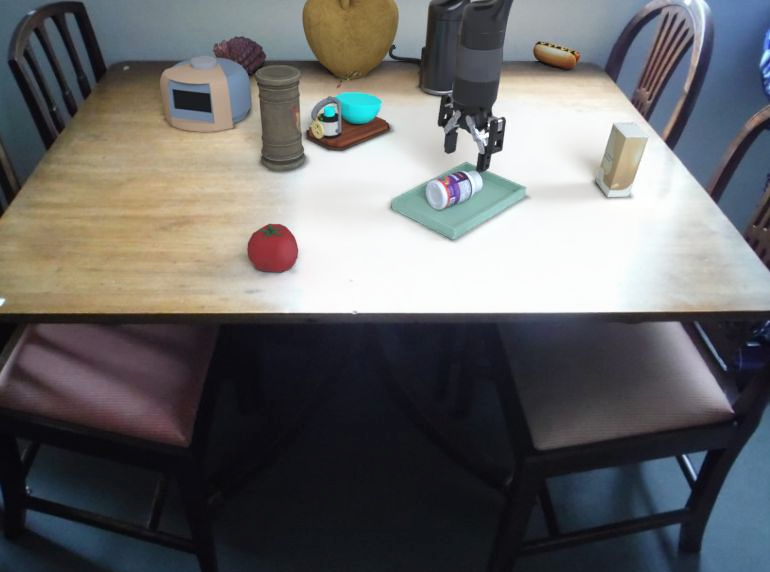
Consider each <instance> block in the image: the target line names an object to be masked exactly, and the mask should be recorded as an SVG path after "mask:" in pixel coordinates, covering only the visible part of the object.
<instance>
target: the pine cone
mask: <svg viewBox="0 0 770 572" xmlns="http://www.w3.org/2000/svg"><path fill="white" fill-rule="evenodd" d="M263 49H264V48H263V46H262V45H260V44H258V42H256V41H255V40H253V39H251V38H249V37H245V36H243V35H242V36H234V37H233V38H230V39H229V40H226V39H222V40H221V42H219V43H214V44H213V49H212V52H213V53H214V57H216V58H224V59H229V60H232V61H234V62H236V63H238V64H240V65H241V66H242V67H243V68H244V69H245V71H246V72H247V73H248V75H252V74H253V73H254V71H258V70H259V68H260V67H261V66H262V64H263V63H265V61H266V59H267V54H266V52H265V51H264V50H263Z"/></svg>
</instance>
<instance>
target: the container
mask: <svg viewBox="0 0 770 572" xmlns="http://www.w3.org/2000/svg"><path fill="white" fill-rule="evenodd" d="M301 76H302V74H301V71H300V70H299V69H298V68H296V67H294V66H292V65H286V64H273V65H267V66H263V67H261V68H258V69H257V70H256V72H255V73H254V79H255V81H256V86H257V88H258V95H257V97H258V99H259V112H260V122H261V123H260V124H261V142H262V147H261V151H260V152H261V156H260V160H261V163H262V165H263V166H264V168H266V169H269V170H271V171H274V172H275V171H276V172H288V171H291V170H292V171H293V170H296V169H297V168H300V167H301V166H302V165H304V163H305V161H306V154H305V147H304V145H303V134H302V126H301V124H302V122H301V105H300V104H301V103H300V102H301V100H300V97H301V93H300V87H299V86H300V84H301V83H300V80H301Z"/></svg>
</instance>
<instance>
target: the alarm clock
mask: <svg viewBox="0 0 770 572" xmlns="http://www.w3.org/2000/svg"><path fill="white" fill-rule="evenodd" d="M159 88H160V94H161V100H162V105H163V111H164V116H165V120H166V122H168V123H169V124H170V125H171V126H172V127H174V128H177V129H179V130H183V131H188V132H189V131H190V132H198V133H199V132H201V133H209V132H219V131H224V130H229V129H233V128H234V124H235V123H238V122H240V121H242V120H243V119H245V118H246V116H247V115H248V113H249V110H250V109H251V108H252V105H253V102H252V100H253V99H252V89H251V80H250V76H249V74H248V73H247V72H246V71H245V69H244V68H243V67H242V66H241V65H240V64H238V63H236V62H234V61H232V60H229V59H224V58H217V57H216V56H211V55H199V56H195V57H193V58H190V59H186V60H183V61H180V62H178V63H176V64H175V65H173V66H171V67H169V68H166V69H164V71H163V72H162V74H161V76H160V79H159Z"/></svg>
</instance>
